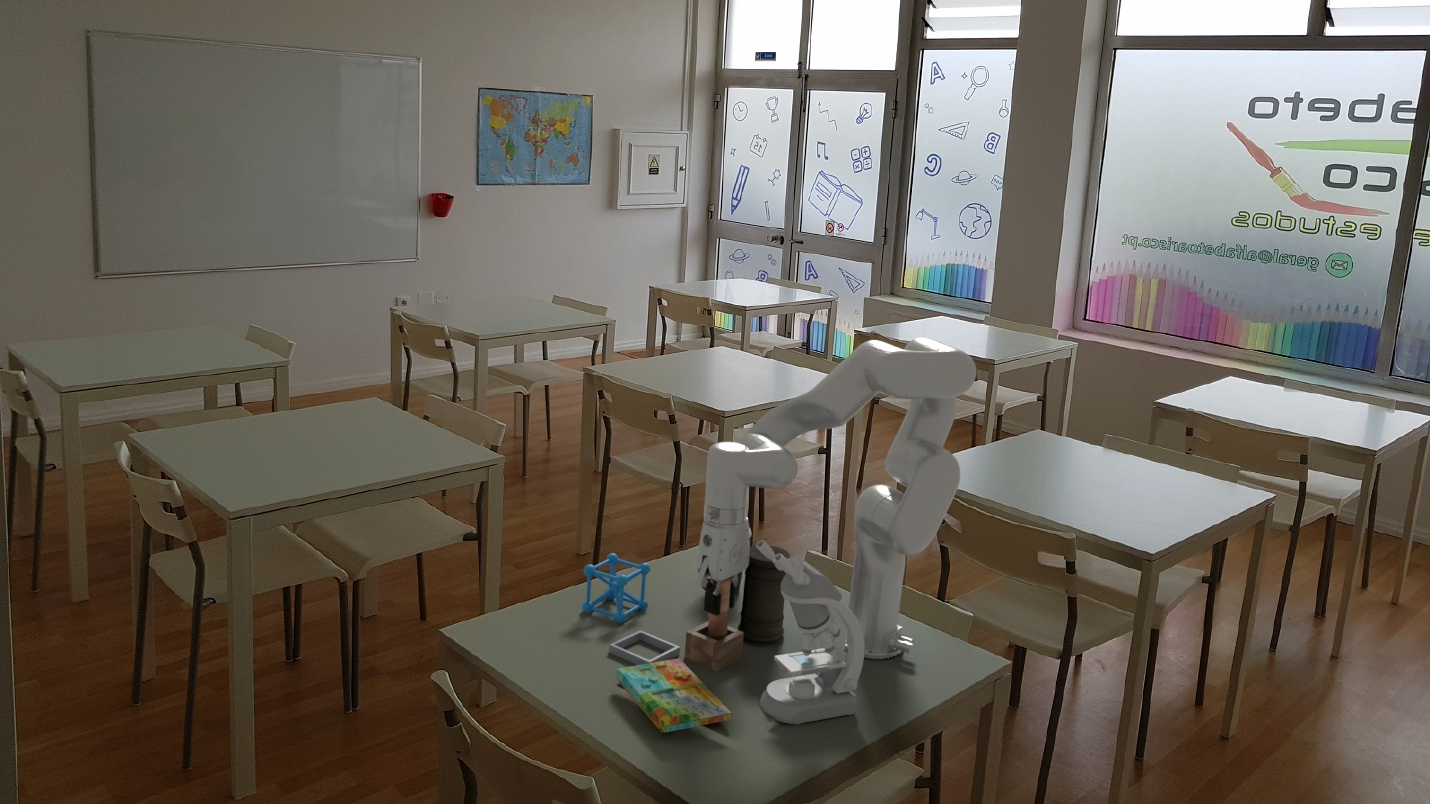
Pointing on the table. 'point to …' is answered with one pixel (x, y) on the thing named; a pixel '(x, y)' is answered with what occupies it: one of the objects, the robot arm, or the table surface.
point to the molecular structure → (615, 587)
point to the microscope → (833, 676)
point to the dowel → (720, 622)
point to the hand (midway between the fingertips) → (719, 608)
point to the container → (763, 600)
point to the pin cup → (713, 647)
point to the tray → (670, 648)
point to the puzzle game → (672, 695)
